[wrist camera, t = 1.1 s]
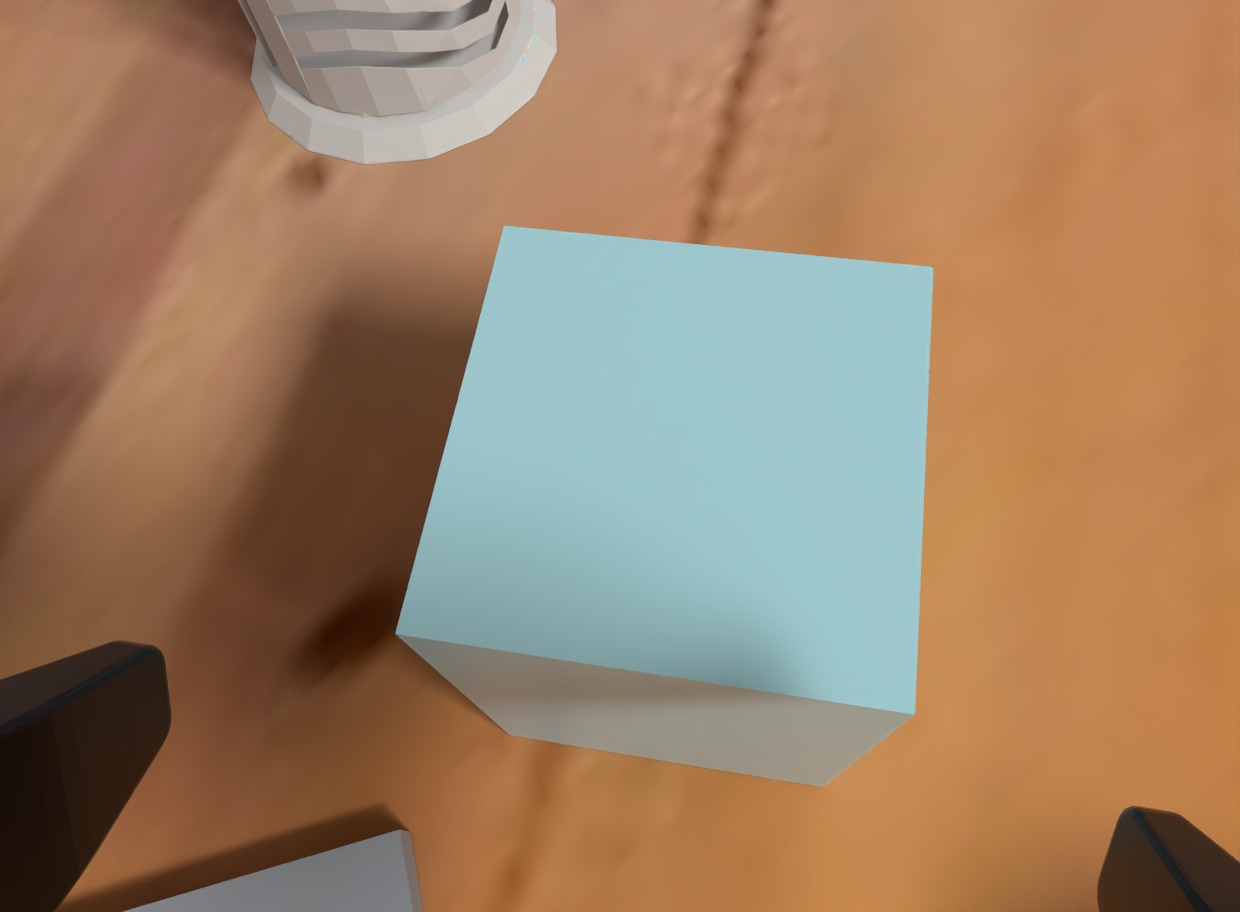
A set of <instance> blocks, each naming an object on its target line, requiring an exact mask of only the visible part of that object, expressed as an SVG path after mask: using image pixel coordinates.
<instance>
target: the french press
mask: <svg viewBox="0 0 1240 912" xmlns="http://www.w3.org/2000/svg"><path fill="white" fill-rule="evenodd" d="M238 2H239V4H240V6H241V8H242V10H243V12H244V14H245V16H246V18H247V19H248V21H249V23H250V25H251V27H252V29H253V31H254V33H255V35H256V37H257V39H256V46H255V53H254V59H253V66H252V72H251V81H252V84H253V86H254V88H255V91H256V93H257V96H258V98H259V100H260V103H261V105H262V107H263V110H264V112H265V115H266V117H267V119H268V120H269V121H270V122H271V123H273V124H274V125H275V126H276V127H278V128H279V129H280V130H282V131H283V132H284V133H286V134H287V135H288V136H290V137H291V138H292V139H293V140H295V141H296V142H297V143H299V144H300V145H301V146H303V147H304V148H305V149H306V150H308V151H312V152H316V153H321V154H325V155H329V156H333V157H337V158H341V159H345V160H349V161H353V162H357V163H361V164H375V163H387V162H398V161H410V160H422V159H430V158H432V157H435V156H437V155H440V154H442V153H445V152H447V151H450V150H452V149H455V148H457V147H459V146H462V145H464V144H467V143H469V142H472V141H474V140H477V139H479V138H482V137H484V136H487V135H489V134H490V133H491V132H493V131H494V130H495V129H496V128H497V127H498V126H500V125H501V124H502V123H503V122H504V121H505V120H507V119H508V118H509V117H510V116H511V115H512V114H514V113H515V112H516V111H517V110H518V109H520V108H521V107H522V106H523V105H524V104H525V103H527V102H528V101H529V100H530V99H531V98H532V97H534V95H535V93H536V91H537V89H538V87H539V85H540V83H541V81H542V79H543V77H544V75H545V73H546V71H547V69H548V68H549V66H550V64H551V62H552V60H553V58H554V56H555V54H556V52H557V45H556V12H555V6H554V5H553V3H552V1H551V0H238Z"/></svg>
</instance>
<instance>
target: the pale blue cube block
mask: <svg viewBox="0 0 1240 912" xmlns="http://www.w3.org/2000/svg"><path fill="white" fill-rule="evenodd" d="M932 288H933V267H926V266H916V265H905V264H895V263H885V262H874V261H864V260H854V259H843V258H833V257H822V256H812V255H802V254H791V253H781V252H771V251H760V250H750V249H740V248H729V247H719V246H708V245H698V244H688V243H677V242H667V241H657V240H646V239H636V238H626V237H615V236H605V235H594V234H584V233H574V232H563V231H553V230H543V229H532V228H522V227H512V226H504V228H503V232H502V236H501V239H500V243H499V247H498V251H497V254H496V258H495V262H494V266H493V269H492V273H491V277H490V281H489V284H488V288H487V292H486V296H485V299H484V303H483V307H482V311H481V314H480V318H479V322H478V326H477V329H476V333H475V337H474V341H473V344H472V348H471V352H470V356H469V359H468V363H467V367H466V371H465V374H464V378H463V382H462V386H461V389H460V393H459V397H458V401H457V404H456V408H455V412H454V416H453V419H452V423H451V427H450V430H449V434H448V438H447V442H446V445H445V449H444V453H443V457H442V460H441V464H440V468H439V472H438V475H437V479H436V483H435V487H434V490H433V494H432V498H431V502H430V505H429V509H428V513H427V517H426V520H425V524H424V528H423V532H422V535H421V539H420V543H419V547H418V550H417V554H416V558H415V562H414V565H413V569H412V573H411V577H410V580H409V584H408V588H407V592H406V595H405V599H404V603H403V607H402V610H401V614H400V618H399V622H398V625H397V629H396V633H395V634H396V635H397V636H398V637H399V638H400V639H401V640H403V641H404V642H405V643H406V644H407V645H408V646H409V647H410V648H412V649H413V650H414V651H415V652H416V653H417V654H418V655H419V656H421V657H422V658H423V659H424V660H425V661H426V662H427V663H429V664H430V665H431V666H432V667H433V668H434V669H435V670H436V671H438V672H439V673H440V674H441V675H442V676H443V677H444V678H445V679H447V680H448V681H449V682H450V683H451V684H452V685H453V686H454V687H456V688H457V689H458V690H459V691H460V692H461V693H462V694H464V695H465V696H466V697H467V698H468V699H469V700H470V701H471V702H473V703H474V704H475V705H476V706H477V707H478V708H479V709H480V710H482V711H483V712H484V713H485V714H486V715H487V716H488V717H489V718H491V719H492V720H493V721H494V722H495V723H496V724H497V725H499V726H500V727H501V728H502V729H503V730H504V731H505V732H506V733H508V734H509V735H511V736H517V737H523V738H529V739H535V740H541V741H547V742H553V743H559V744H565V745H571V746H577V747H583V748H589V749H595V750H601V751H607V752H613V753H619V754H625V755H631V756H637V757H643V758H649V759H655V760H661V761H667V762H673V763H679V764H685V765H691V766H697V767H703V768H709V769H715V770H721V771H727V772H733V773H739V774H745V775H751V776H757V777H763V778H769V779H775V780H781V781H787V782H793V783H799V784H805V785H811V786H817V787H824V786H825V785H827V784H828V783H829V782H830V781H832V780H833V779H834V778H835V777H837V776H838V775H839V774H840V773H842V772H843V771H844V770H846V769H847V768H848V767H849V766H851V765H852V764H853V763H854V762H856V761H857V760H858V759H859V758H861V757H862V756H863V755H864V754H866V753H867V752H868V751H870V750H871V749H872V748H873V747H875V746H876V745H877V744H878V743H880V742H881V741H882V740H883V739H885V738H886V737H887V736H889V735H890V734H891V733H892V732H894V731H895V730H896V729H897V728H899V727H900V726H901V725H902V724H904V723H905V722H906V721H908V720H909V719H910V718H911V717H913V716H914V715H915V700H916V676H917V652H918V628H919V604H920V579H921V555H922V531H923V507H924V482H925V458H926V434H927V410H928V385H929V361H930V337H931V313H932Z"/></svg>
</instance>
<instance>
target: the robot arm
mask: <svg viewBox="0 0 1240 912" xmlns="http://www.w3.org/2000/svg"><path fill="white" fill-rule="evenodd" d="M170 724H171V708H170V700H169V692H168V683H167V675H166V666H165V660H164V656H163V654H162V652H161V651H160V650H159V649H158V648H157V647H155V646H153V645H147V644H141V643H135V642H129V641H114V642H110V643H107V644H104V645H101V646H98V647H95V648H93V649H90V650H87V651H84V652H81V653H78V654H75V655H72V656H69V657H66V658H63V659H60V660H57V661H54V662H51V663H48V664H45V665H42V666H40V667H37V668H34V669H31V670H28V671H25V672H22V673H19V674H16V675H13V676H10V677H7V678H4V679H1V680H0V912H55V911H56V910H57V908H58V907H59V906H60V904H61V903H62V902H63V900H64V899H65V898H66V896H67V895H68V893H69V892H70V891H71V889H72V888H73V886H74V885H75V884H76V882H77V881H78V879H79V878H80V877H81V875H82V874H83V872H84V870H85V869H86V867H87V866H88V864H89V863H90V861H91V860H92V858H93V857H94V855H95V854H96V852H97V851H98V849H99V847H100V846H101V844H102V842H103V841H104V839H105V838H106V836H107V834H108V833H109V831H110V830H111V828H112V826H113V825H114V823H115V821H116V820H117V818H118V817H119V815H120V813H121V812H122V810H123V808H124V807H125V805H126V804H127V802H128V800H129V799H130V797H131V795H132V794H133V792H134V791H135V789H136V787H137V786H138V784H139V783H140V781H141V779H142V778H143V776H144V774H145V773H146V771H147V770H148V768H149V766H150V765H151V763H152V761H153V760H154V758H155V757H156V755H157V753H158V752H159V750H160V748H161V747H162V745H163V743H164V742H165V740H166V737H167V735H168V732H169V728H170ZM1097 899H1098V908H1099V912H1240V862H1239V861H1238V860H1236V859H1235V858H1234V857H1233V856H1231V855H1230V854H1229V853H1228V852H1226V851H1225V850H1224V849H1223V848H1221V847H1220V846H1219V845H1218V844H1216V843H1215V842H1214V841H1213V840H1211V839H1210V838H1209V837H1208V836H1206V835H1205V834H1204V833H1203V832H1201V831H1200V830H1199V829H1198V828H1196V827H1195V826H1194V825H1193V824H1191V823H1190V822H1189V821H1188V820H1186V819H1185V818H1184V817H1182V816H1181V815H1179V814H1177V813H1174V812H1170V811H1163V810H1157V809H1151V808H1145V807H1139V806H1131V807H1128V808H1126V809H1124V811H1123V812H1122V813H1121V815H1120V816H1119V819H1118V821H1117V824H1116V827H1115V830H1114V833H1113V836H1112V839H1111V842H1110V845H1109V848H1108V851H1107V854H1106V857H1105V860H1104V864H1103V867H1102V870H1101V873H1100V876H1099V880H1098V888H1097Z"/></svg>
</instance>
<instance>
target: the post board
mask: <svg viewBox="0 0 1240 912" xmlns="http://www.w3.org/2000/svg"><path fill="white" fill-rule="evenodd" d="M123 912H423V906H422V900H421V894H420V888H419V882H418V876H417V870H416V864H415V858H414V852H413V846H412V840H411V834H410V832H409V831H404V830H396V831H393V832H389V833H386V834H383V835H379V836H376V837H373V838H369V839H366V840H363V841H359V842H356V843H352V844H349V845H346V846H342V847H339V848H336V849H332V850H329V851H325V852H322V853H319V854H315V855H312V856H309V857H305V858H302V859H298V860H295V861H292V862H288V863H285V864H282V865H278V866H275V867H272V868H268V869H265V870H261V871H258V872H255V873H251V874H248V875H245V876H241V877H238V878H234V879H231V880H228V881H224V882H221V883H218V884H214V885H211V886H208V887H204V888H201V889H197V890H194V891H191V892H187V893H184V894H181V895H177V896H174V897H170V898H167V899H164V900H160V901H157V902H154V903H150V904H147V905H143V906H140V907H137V908H133V909H130V910H127V911H123Z"/></svg>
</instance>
